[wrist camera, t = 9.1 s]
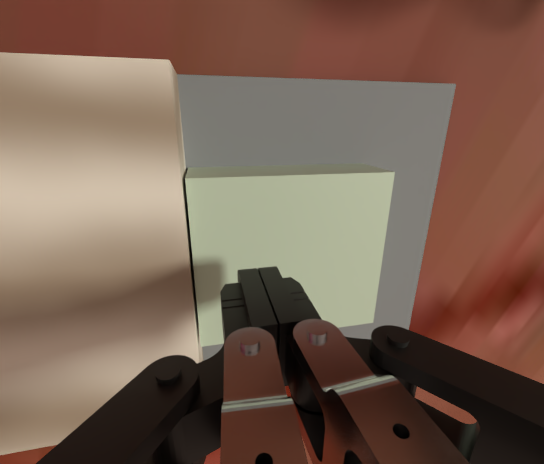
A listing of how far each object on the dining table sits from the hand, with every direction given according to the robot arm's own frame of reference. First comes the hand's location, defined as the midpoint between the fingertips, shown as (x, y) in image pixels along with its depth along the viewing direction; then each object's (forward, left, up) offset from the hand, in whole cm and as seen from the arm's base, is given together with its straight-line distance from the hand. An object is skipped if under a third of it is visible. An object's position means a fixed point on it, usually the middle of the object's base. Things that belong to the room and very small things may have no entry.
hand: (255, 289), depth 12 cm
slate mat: (0, +4, -6) cm, 7 cm away
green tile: (0, +2, -5) cm, 5 cm away
